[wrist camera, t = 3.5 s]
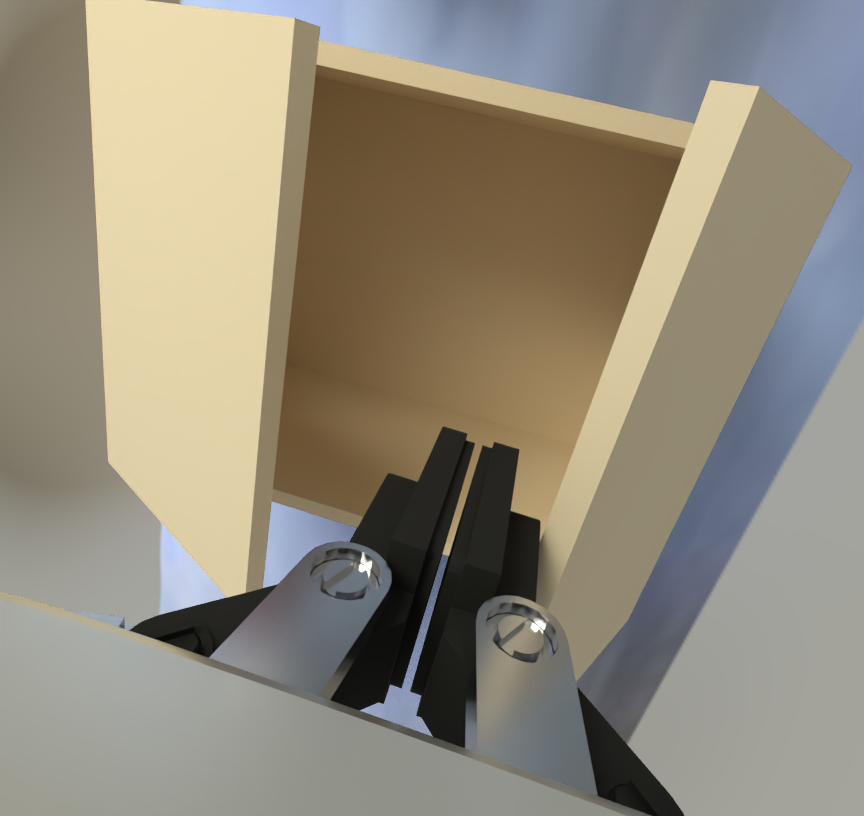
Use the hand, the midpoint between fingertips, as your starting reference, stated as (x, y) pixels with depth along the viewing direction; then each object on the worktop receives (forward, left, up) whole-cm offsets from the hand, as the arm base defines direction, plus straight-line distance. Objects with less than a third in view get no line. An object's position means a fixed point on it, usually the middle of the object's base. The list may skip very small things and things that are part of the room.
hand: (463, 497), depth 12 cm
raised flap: (0, +4, -3) cm, 5 cm away
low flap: (0, -9, -5) cm, 11 cm away
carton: (0, -4, -20) cm, 20 cm away
